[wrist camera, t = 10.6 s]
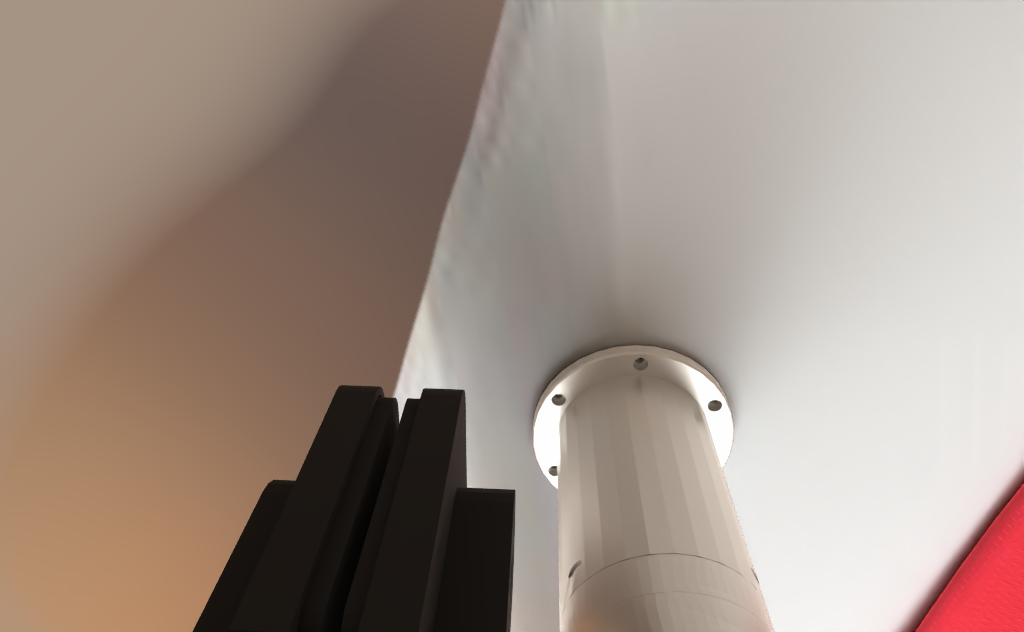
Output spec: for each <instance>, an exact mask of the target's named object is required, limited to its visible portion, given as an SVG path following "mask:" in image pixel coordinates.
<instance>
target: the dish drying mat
mask: <svg viewBox="0 0 1024 632" xmlns="http://www.w3.org/2000/svg"><path fill="white" fill-rule="evenodd" d="M915 632H1024V483H1023V484H1022V486H1021V487H1020V488H1019V490H1018V491H1017V492H1016V493H1015V495H1014V496H1013V497H1012V499H1011V500H1010V501H1009V502H1008V504H1007V505H1006V506H1005V507H1004V509H1003V510H1002V511H1001V512H1000V514H999V515H998V516H997V517H996V519H995V520H994V521H993V522H992V524H991V525H990V527H989V528H988V529H987V531H986V532H985V533H984V535H983V536H982V537H981V539H980V540H979V542H978V543H977V544H976V546H975V547H974V548H973V550H972V551H971V552H970V554H969V555H968V556H967V558H966V559H965V560H964V562H963V563H962V565H961V566H960V567H959V569H958V570H957V572H956V573H955V574H954V576H953V577H952V579H951V580H950V582H949V583H948V585H947V586H946V588H945V589H944V591H943V592H942V594H941V595H940V596H939V598H938V599H937V601H936V602H935V603H934V605H933V606H932V608H931V609H930V611H929V612H928V613H927V615H926V616H925V618H924V619H923V621H922V622H921V624H920V625H919V627H918V628H917V630H916V631H915Z"/></svg>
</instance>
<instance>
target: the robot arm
mask: <svg viewBox="0 0 1024 632" xmlns="http://www.w3.org/2000/svg"><path fill="white" fill-rule="evenodd" d="M638 358H642V359H639V360H638ZM558 394H559V395H558ZM733 437H734V423H733V417H732V411H731V408H730V406H729V403H728V400H727V398H726V395H725V394H724V392H723V390H722V389H721V387H720V385H719V383H718V382H717V381H716V380H715V379H714V378H713V376H712V375H711V374H710V373H709V372H708V371H707V370H706V369H705V368H703V367H702V366H700V365H699V364H698V363H696V362H695V361H693V360H692V359H690V358H688V357H686V356H683V355H681V354H679V353H677V352H675V351H671V350H667V349H663V348H659V347H654V346H641V345H630V346H619V347H613V348H609V349H605V350H601V351H597V352H594V353H592V354H590V355H588V356H585V357H583V358H581V359H579V360H577V361H576V362H574V363H573V364H571V365H570V366H568V367H567V368H565V369H564V370H562V371H561V372H560V373H559V374H558V375H557V376H556V377H555V378H554V379H553V380H552V381H551V382H550V384H549V385H548V387H547V388H546V390H545V391H544V393H543V394H542V396H541V397H540V400H539V402H538V405H537V407H536V410H535V414H534V421H533V441H532V442H533V447H534V452H535V457H536V459H537V462H538V464H539V466H540V468H541V470H542V472H543V473H544V475H545V476H546V477H547V479H548V480H549V481H550V483H551V484H552V485H553V486H554V487H555V488H556V489H558V550H559V617H560V632H774V629H773V626H772V623H771V620H770V617H769V614H768V611H767V608H766V605H765V602H764V598H763V595H762V592H761V589H760V585H759V582H758V579H757V576H756V573H755V570H754V566H753V563H752V560H751V557H750V554H749V551H748V548H747V545H746V542H745V539H744V535H743V532H742V529H741V526H740V523H739V520H738V516H737V513H736V510H735V507H734V504H733V501H732V497H731V494H730V491H729V488H728V485H727V482H726V478H725V475H724V472H723V469H722V468H723V466H724V465H725V463H726V461H727V459H728V457H729V454H730V451H731V448H732V444H733ZM514 536H515V490H507V489H483V488H467V469H466V403H465V391H464V390H455V389H428V388H425V389H423V391H422V394H421V398H420V399H410V398H408V399H407V401H406V404H405V407H404V410H403V414H402V417H401V420H400V424H399V412H398V402H397V399H396V398H384V393H383V389H382V388H381V387H374V386H347V385H341V386H339V387H338V389H337V391H336V393H335V395H334V397H333V399H332V402H331V404H330V406H329V408H328V410H327V413H326V415H325V417H324V419H323V422H322V424H321V426H320V428H319V430H318V433H317V435H316V437H315V439H314V441H313V444H312V446H311V448H310V450H309V453H308V455H307V457H306V459H305V461H304V464H303V466H302V468H301V470H300V472H299V474H298V477H297V479H296V481H289V480H273V481H271V482H270V483H268V485H267V486H266V488H265V489H264V491H263V492H262V494H261V496H260V499H259V500H258V502H257V504H256V507H255V508H254V510H253V512H252V514H251V516H250V518H249V520H248V522H247V525H246V526H245V528H244V530H243V532H242V534H241V536H240V538H239V541H238V542H237V545H236V546H235V548H234V550H233V553H232V554H231V556H230V558H229V560H228V562H227V564H226V566H225V568H224V570H223V572H222V574H221V576H220V578H219V580H218V582H217V584H216V586H215V588H214V590H213V592H212V594H211V596H210V598H209V600H208V602H207V604H206V606H205V608H204V610H203V612H202V614H201V616H200V618H199V620H198V622H197V624H196V626H195V628H194V630H193V632H510V626H511V608H512V589H513V566H514Z"/></svg>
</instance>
